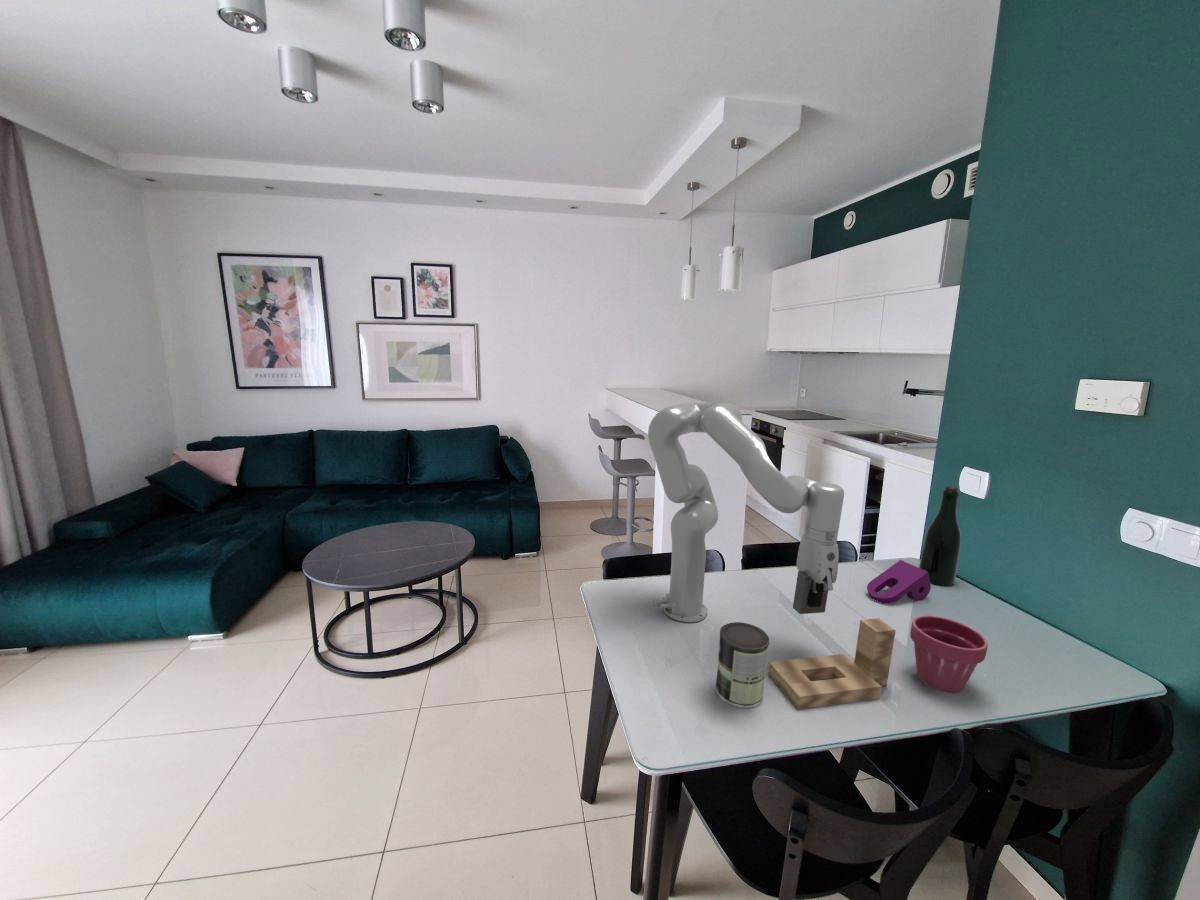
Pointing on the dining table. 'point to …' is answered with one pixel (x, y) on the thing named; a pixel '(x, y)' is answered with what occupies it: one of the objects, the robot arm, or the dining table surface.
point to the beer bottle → (943, 542)
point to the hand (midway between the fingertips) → (809, 601)
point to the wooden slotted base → (839, 671)
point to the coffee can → (741, 664)
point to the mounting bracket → (900, 583)
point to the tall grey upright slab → (806, 595)
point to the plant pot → (946, 652)
